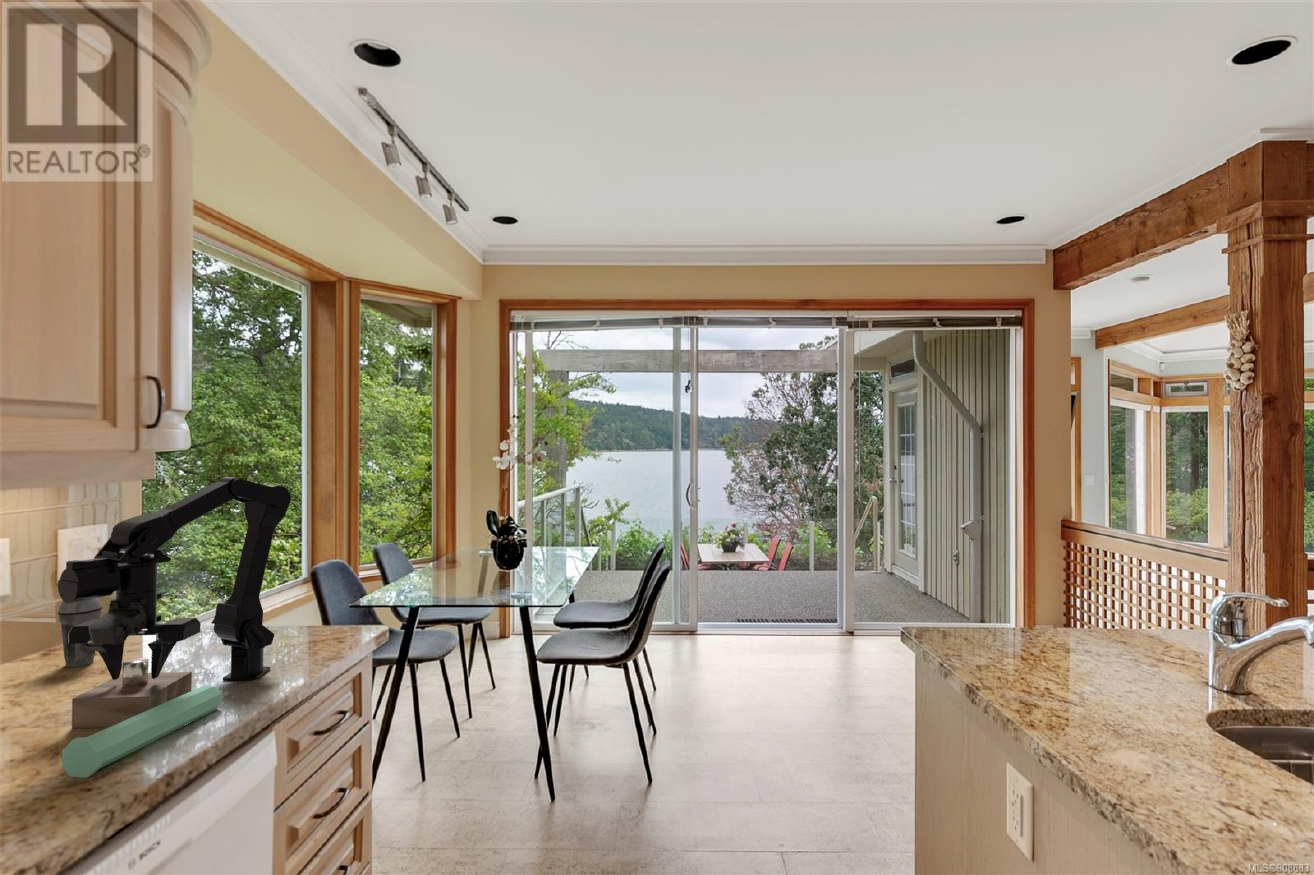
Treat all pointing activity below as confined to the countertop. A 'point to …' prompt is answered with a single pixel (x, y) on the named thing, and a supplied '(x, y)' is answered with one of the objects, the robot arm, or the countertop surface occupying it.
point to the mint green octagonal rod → (137, 731)
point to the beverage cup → (71, 617)
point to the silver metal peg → (135, 672)
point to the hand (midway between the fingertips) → (135, 678)
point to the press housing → (126, 699)
